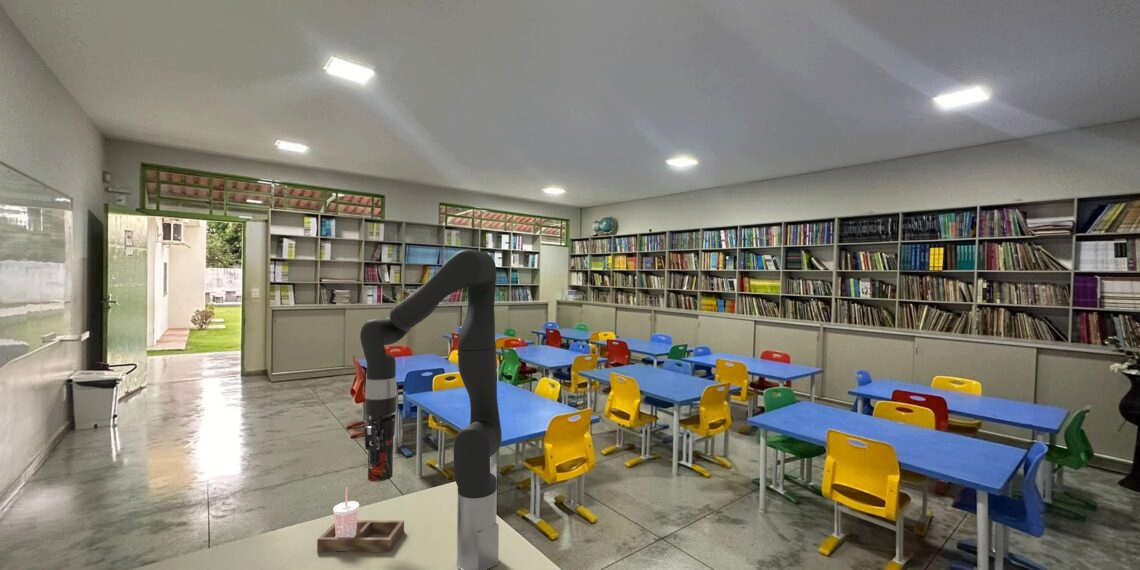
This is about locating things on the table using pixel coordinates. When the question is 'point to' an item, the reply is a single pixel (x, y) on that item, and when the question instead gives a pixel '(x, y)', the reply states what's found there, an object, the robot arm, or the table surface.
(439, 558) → the table surface
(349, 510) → the beverage cup
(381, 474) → the deodorant
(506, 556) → the table surface
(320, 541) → the divided wooden tray
